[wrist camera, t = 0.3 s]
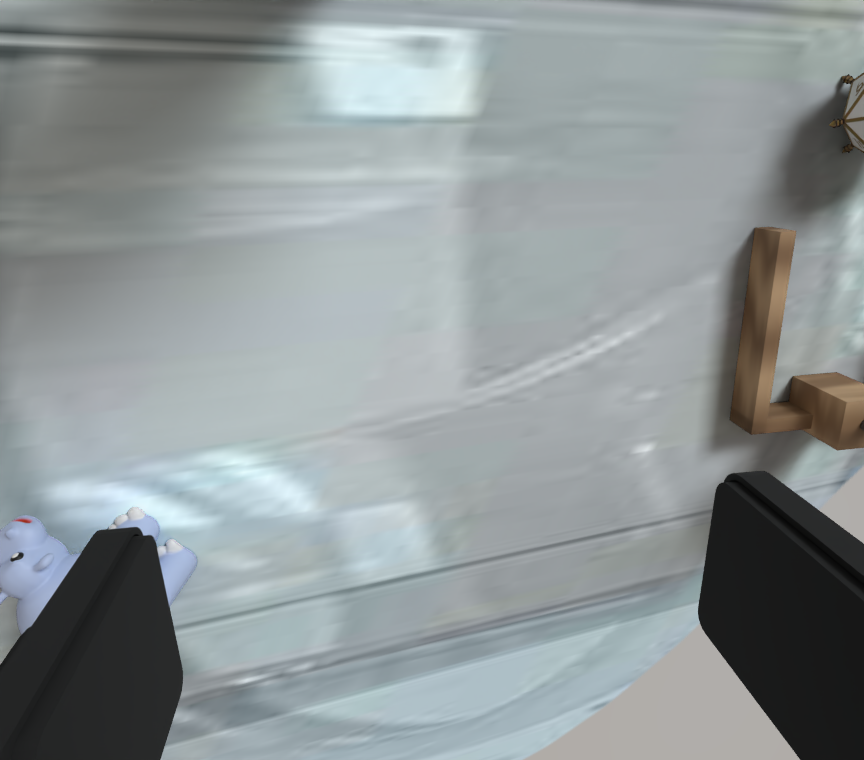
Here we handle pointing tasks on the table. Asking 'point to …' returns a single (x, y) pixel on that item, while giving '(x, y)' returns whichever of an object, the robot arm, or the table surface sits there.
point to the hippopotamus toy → (70, 562)
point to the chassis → (763, 314)
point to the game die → (853, 114)
